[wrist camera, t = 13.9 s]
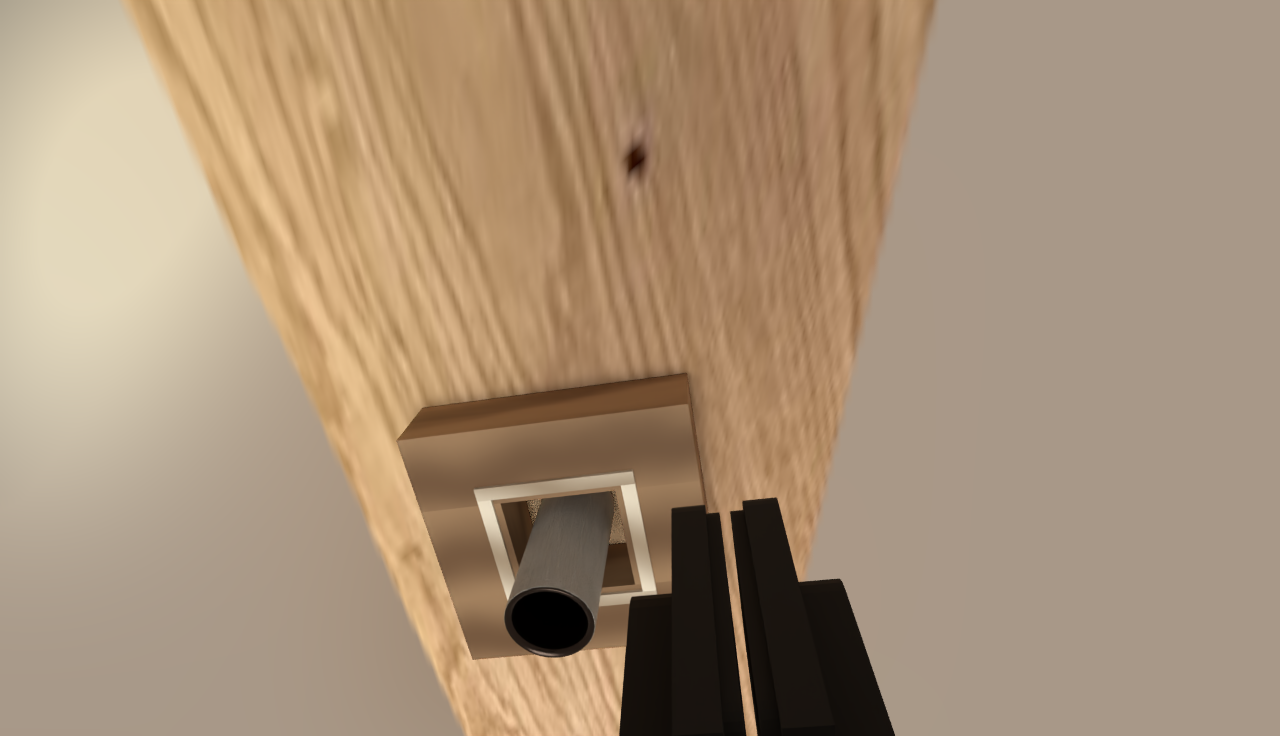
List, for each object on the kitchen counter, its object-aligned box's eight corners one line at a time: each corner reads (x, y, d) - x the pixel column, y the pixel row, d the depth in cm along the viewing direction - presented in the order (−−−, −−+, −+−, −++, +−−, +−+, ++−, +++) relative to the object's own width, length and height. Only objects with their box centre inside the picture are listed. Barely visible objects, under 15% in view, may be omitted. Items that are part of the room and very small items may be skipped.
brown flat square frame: (422, 408, 40) (394, 442, 36) (686, 373, 38) (688, 405, 34) (489, 613, 46) (471, 662, 42) (720, 591, 44) (724, 640, 40)
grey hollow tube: (537, 474, 41) (494, 589, 32) (609, 469, 41) (587, 585, 31) (549, 534, 43) (512, 660, 33) (618, 530, 42) (601, 657, 33)
